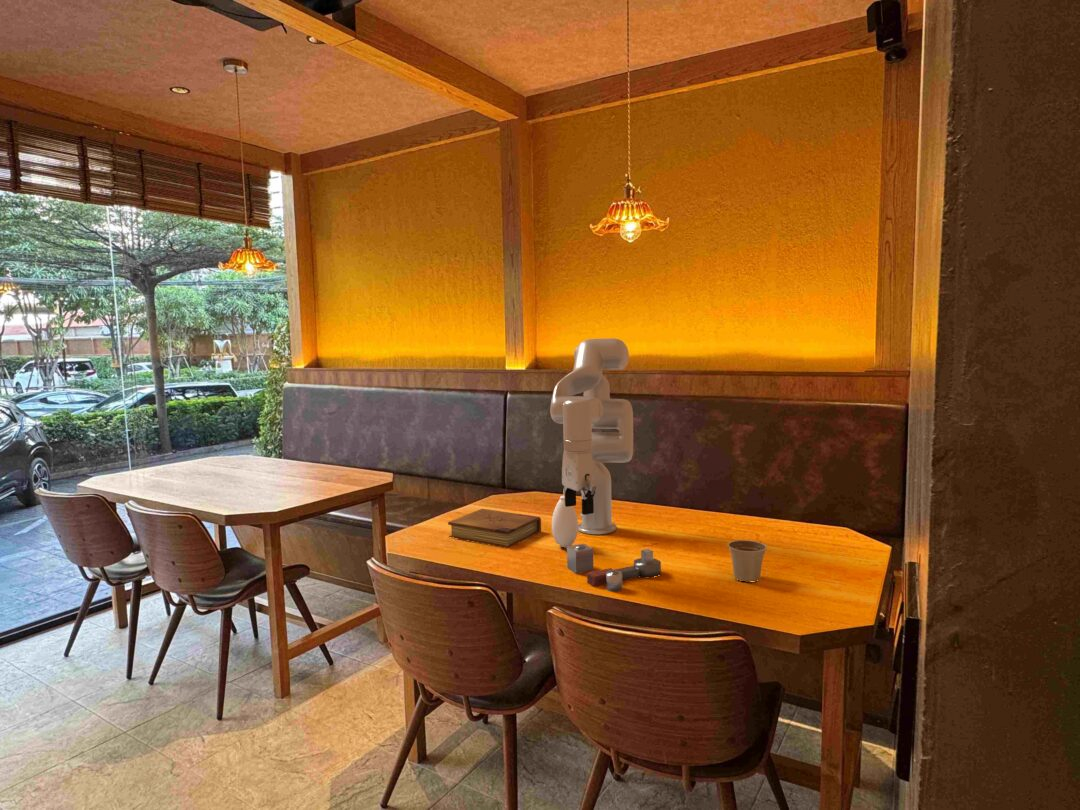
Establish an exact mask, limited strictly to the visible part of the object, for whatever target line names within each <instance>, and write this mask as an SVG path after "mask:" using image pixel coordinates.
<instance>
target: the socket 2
mask: <svg viewBox="0 0 1080 810" xmlns="http://www.w3.org/2000/svg"><path fill="white" fill-rule="evenodd" d="M605 587H606V588H605V590H607V591H608V592H613V593H617V592H621V591H622V590H623V580H622V572H620V571H617V570H614V569H613V570H611V571H607V572H606V584H605Z"/></svg>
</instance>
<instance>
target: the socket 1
mask: <svg viewBox="0 0 1080 810" xmlns="http://www.w3.org/2000/svg"><path fill="white" fill-rule="evenodd" d="M566 554H567V555H566V562H567V565H566V566H567V569H568V570H570V571H571V572H573V573H574V574H576V575H577V574H583V572H584V573H589V572H594V571H595V569H594V548H593V547H591V546H589V545H587V544H585V543H580V544H574V545H573V544H571V546H567V548H566ZM588 571H589V572H588Z"/></svg>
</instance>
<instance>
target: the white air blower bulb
mask: <svg viewBox="0 0 1080 810" xmlns="http://www.w3.org/2000/svg"><path fill="white" fill-rule="evenodd" d="M575 509H576V508H575V507H574V506H569V507H566V506H565V491H564V489H563V492H562V495H560V497H559V500H558V502H557V503H556V505H555V508H554V510H553V513H552V517H551V533H552V536H553V539H554V541H555V543H556V544H558V545H559V547H561V548H563V547H564V549H567V546H572V545H573V544H574V543H575V542H576V540H577V537H578V531H579V530H578V525H579V521H578V516H577V513H576V510H575Z"/></svg>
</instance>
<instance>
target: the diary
mask: <svg viewBox="0 0 1080 810" xmlns="http://www.w3.org/2000/svg"><path fill="white" fill-rule="evenodd" d="M447 525H449V526H450V528H451V535H449V536H448V538H449V537H454V538H458V539H457V540H460V539H463V540H462V541H465V540H469V541H468V542H471V541H474V542H473V543H476V542H479V543H478V544H482V543H484V544H483V545H488V544H490V546H493V545H495V546H494V547H499V546H501V547H500V548H504V547H506V549H510V548H512V547H513V545H514V546H515V544H516V545H518V544H520V543H522V542H524V541H526V540H528V539H529V538H531V537H534V536H535V535H538V534H540V533H541V532H542V519H541V517H540V516H535V515H529V514H523V513H522V514H521V513H515V512H509V511H507V512H506V511H500V510H494V509H486V508H480V509H477V510H475V511H473V512H470V513H467V514H465V515H463V516H460V517H457V518H454V519H452V520H450V521H449V520H448V521H447ZM539 532H540V533H539ZM537 533H538V534H537ZM533 535H534V536H533ZM454 538H453V539H454ZM527 538H528V539H527ZM525 539H526V540H525ZM523 540H524V541H523ZM521 541H522V542H521ZM519 542H520V543H519ZM517 543H518V544H517ZM511 546H512V547H511ZM509 547H510V548H509Z"/></svg>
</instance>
